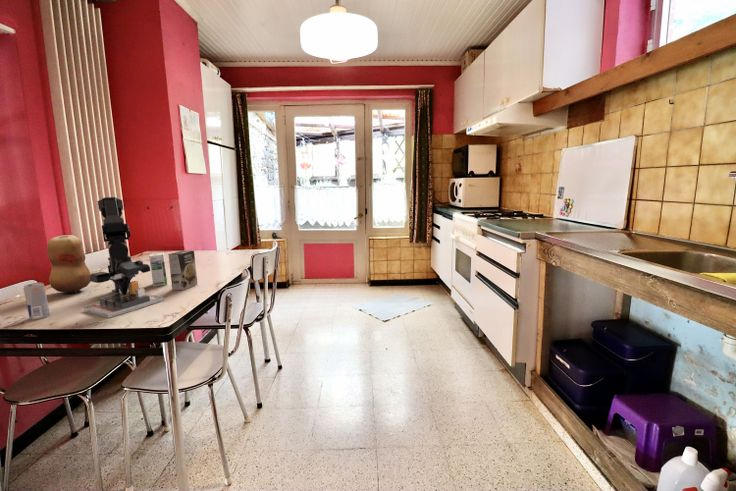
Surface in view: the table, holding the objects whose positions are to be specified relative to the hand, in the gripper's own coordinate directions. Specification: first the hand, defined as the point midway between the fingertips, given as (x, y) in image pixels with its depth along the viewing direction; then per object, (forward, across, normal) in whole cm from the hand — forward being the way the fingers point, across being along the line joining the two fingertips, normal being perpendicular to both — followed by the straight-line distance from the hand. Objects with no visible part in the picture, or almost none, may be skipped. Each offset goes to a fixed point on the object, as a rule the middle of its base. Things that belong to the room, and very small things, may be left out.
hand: (124, 294), depth 134 cm
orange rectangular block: (+1, +4, 0) cm, 4 cm away
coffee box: (+5, +26, +1) cm, 26 cm away
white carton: (+5, -20, +16) cm, 26 cm away
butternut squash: (+5, 0, +40) cm, 40 cm away
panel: (+4, 0, 0) cm, 5 cm away
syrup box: (+5, +24, +16) cm, 29 cm away
